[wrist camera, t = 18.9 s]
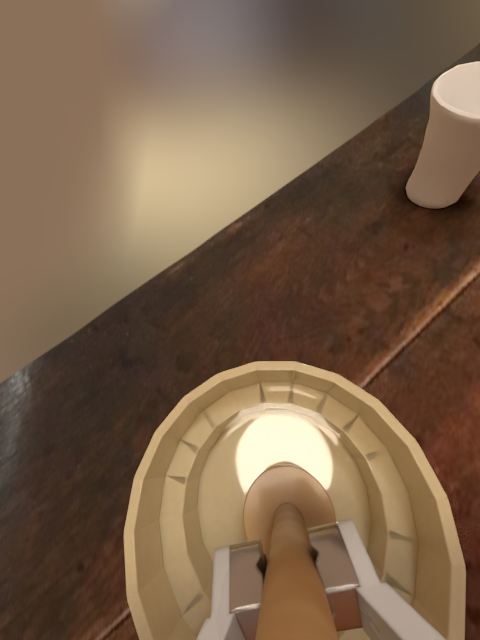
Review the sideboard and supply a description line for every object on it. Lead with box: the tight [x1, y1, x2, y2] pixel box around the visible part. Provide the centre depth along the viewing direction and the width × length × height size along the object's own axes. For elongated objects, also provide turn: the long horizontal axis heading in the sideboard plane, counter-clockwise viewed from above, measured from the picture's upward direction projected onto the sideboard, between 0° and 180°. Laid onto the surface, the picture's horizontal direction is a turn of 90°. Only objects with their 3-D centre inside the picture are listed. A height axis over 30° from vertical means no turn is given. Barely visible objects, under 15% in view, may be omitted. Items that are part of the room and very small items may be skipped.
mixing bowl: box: [124, 361, 466, 640], centre depth 16 cm, size 16×16×7 cm
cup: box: [405, 62, 480, 209], centre depth 26 cm, size 9×9×10 cm
